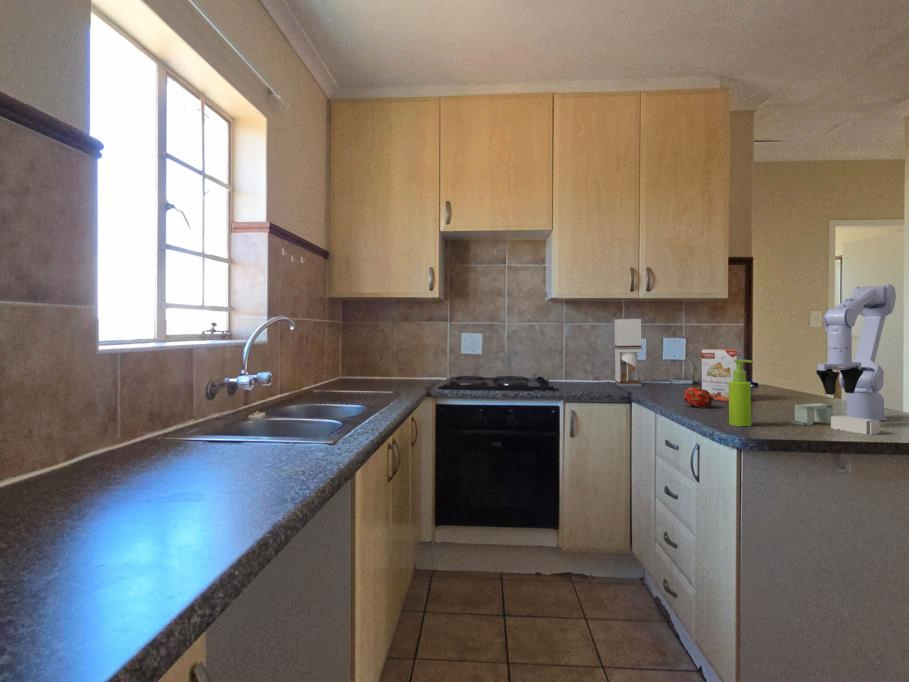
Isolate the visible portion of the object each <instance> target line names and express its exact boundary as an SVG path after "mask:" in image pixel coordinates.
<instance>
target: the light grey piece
mask: <svg viewBox="0 0 909 682" xmlns="http://www.w3.org/2000/svg"><path fill="white" fill-rule="evenodd" d="M638 353H642V319H641V318H621V319H619V318H617V319H614V368H615V369H614V371H615V372H614V377H615V378H614V379H615V380H614V381H615V382H614V383H616V384H617V386H618V385H619V387H642V386H643V381H640V380H639V379H638ZM616 384H615V385H616Z"/></svg>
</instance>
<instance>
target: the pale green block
mask: <svg viewBox="0 0 909 682" xmlns="http://www.w3.org/2000/svg"><path fill="white" fill-rule="evenodd" d="M813 412H814V413H813ZM832 416H834V415H833V404H831V403H829V404H828V403H822V402H817V403H804V404H803V403H802V404H794V420H790V424H793V425H799V426H803V427H804V426H813V425H814V424H813V423H814V422H817V423H822V424H831V417H832ZM813 417H814V419H813ZM813 420H814V422H813Z"/></svg>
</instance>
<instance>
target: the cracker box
mask: <svg viewBox="0 0 909 682" xmlns="http://www.w3.org/2000/svg"><path fill="white" fill-rule="evenodd" d="M743 358H744V357H743V349H728V348H727V349H725V348H722V349H721V348H714V349H713V348H706V349H705V348H704V349H701V388H702V390H707V391H708V392H709V393H710V395H712V396H713V397H714V401H720V402H721V401H723V402H729V382H731V381H733V371H735V370H736V362H734V360H744V359H743Z"/></svg>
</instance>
